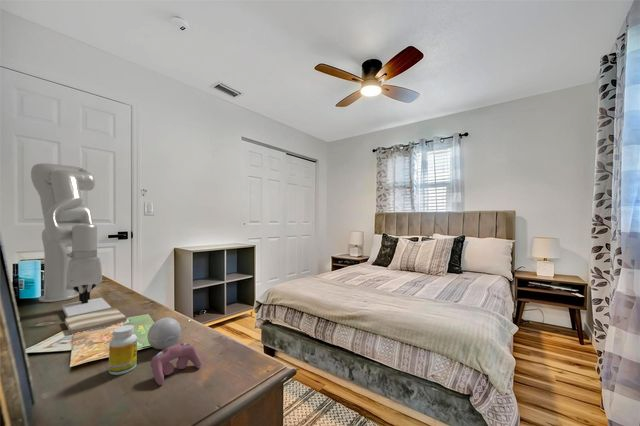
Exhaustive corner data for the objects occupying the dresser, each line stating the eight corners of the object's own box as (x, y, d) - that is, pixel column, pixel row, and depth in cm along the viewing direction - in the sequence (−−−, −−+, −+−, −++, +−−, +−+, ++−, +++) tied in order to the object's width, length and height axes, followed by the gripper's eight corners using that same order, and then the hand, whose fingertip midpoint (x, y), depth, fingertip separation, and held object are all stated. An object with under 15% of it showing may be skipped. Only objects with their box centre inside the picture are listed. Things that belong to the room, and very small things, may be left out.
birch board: (126, 321, 93) (126, 317, 93) (71, 335, 83) (71, 330, 83) (115, 312, 102) (115, 308, 102) (64, 322, 92) (65, 318, 92)
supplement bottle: (108, 368, 65) (108, 327, 65) (135, 360, 68) (135, 322, 68) (109, 378, 61) (109, 335, 61) (138, 370, 64) (138, 329, 64)
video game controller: (195, 368, 68) (189, 339, 70) (204, 366, 65) (197, 336, 67) (151, 388, 60) (146, 355, 62) (158, 386, 57) (153, 351, 59)
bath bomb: (184, 348, 75) (184, 319, 75) (150, 358, 69) (150, 326, 69) (176, 338, 81) (176, 311, 81) (144, 347, 75) (145, 317, 76)
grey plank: (111, 311, 103) (111, 307, 103) (68, 320, 94) (68, 316, 94) (101, 301, 113) (101, 297, 113) (62, 308, 104) (62, 304, 104)
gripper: (59, 258, 99) (59, 309, 99) (110, 254, 111) (110, 299, 110) (57, 256, 104) (57, 305, 104) (106, 252, 115) (106, 296, 115)
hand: (84, 302), depth 107 cm, fingers closed
